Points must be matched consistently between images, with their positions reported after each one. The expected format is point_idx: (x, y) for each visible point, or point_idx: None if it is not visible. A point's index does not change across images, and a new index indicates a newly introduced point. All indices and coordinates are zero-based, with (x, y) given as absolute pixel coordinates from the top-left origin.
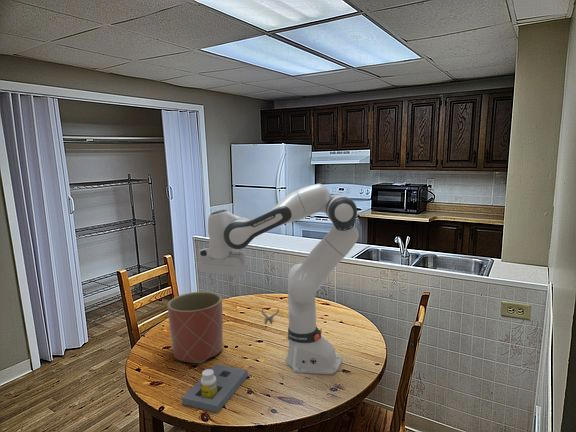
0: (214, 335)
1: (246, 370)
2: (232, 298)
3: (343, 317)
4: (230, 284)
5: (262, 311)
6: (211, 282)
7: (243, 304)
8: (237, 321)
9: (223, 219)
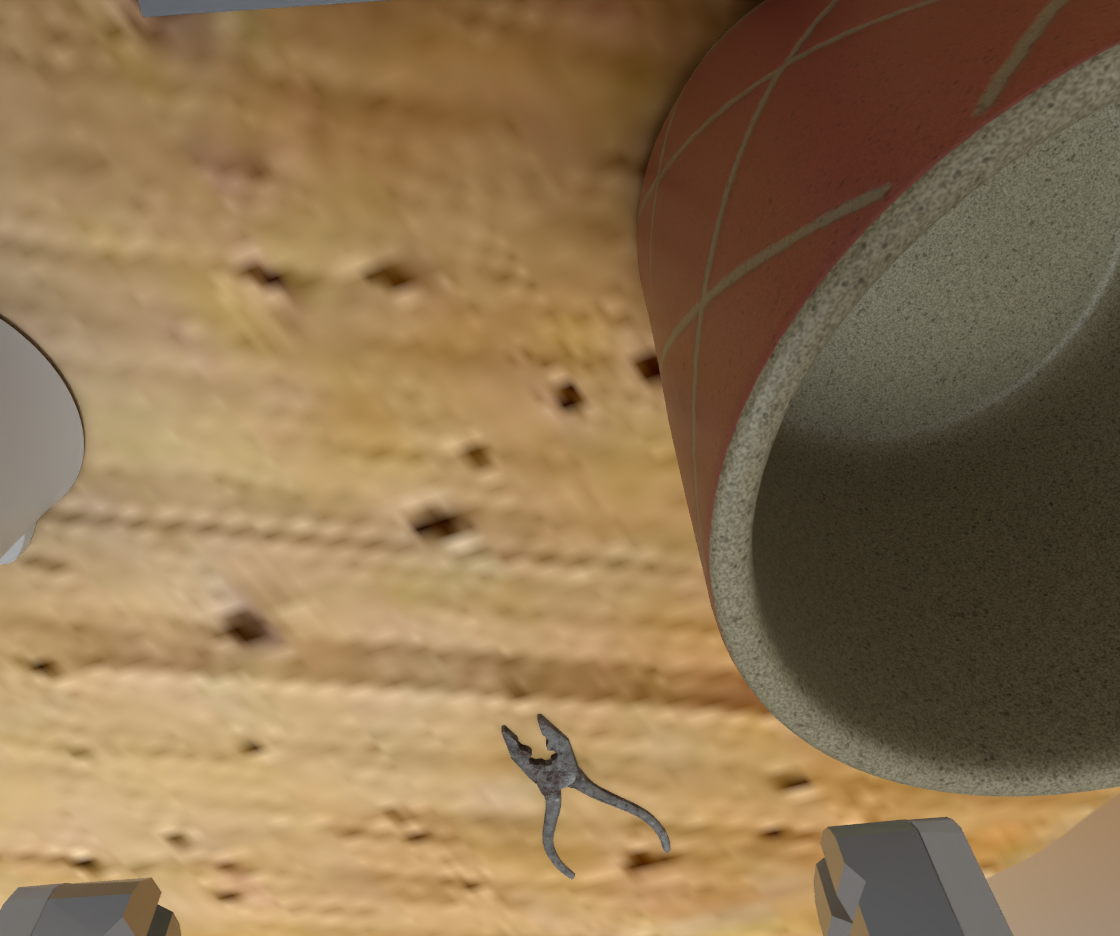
0: (666, 240)
1: (145, 3)
2: None
3: None
4: (115, 920)
5: (651, 826)
6: (901, 864)
7: None
8: None
9: None
